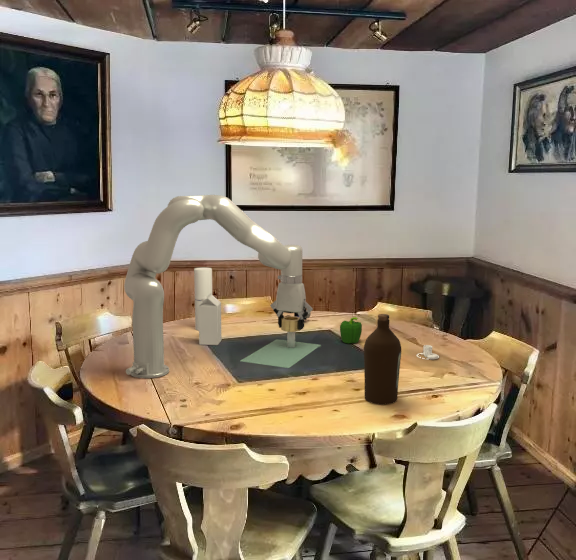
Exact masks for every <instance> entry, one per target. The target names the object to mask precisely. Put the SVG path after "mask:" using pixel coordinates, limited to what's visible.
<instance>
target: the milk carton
mask: <svg viewBox="0 0 576 560" xmlns="http://www.w3.org/2000/svg"><path fill="white" fill-rule="evenodd" d="M201 301H202V303H201V304H200V305H199V331H198V337H199V338H198V341H199V342H198V345H199V346H200V345H201V346H202V345H204V346H219V345H220V343H221V341H222V302H221V301H220V300H219V299H218V298H216V297H215V296H214V295H213V291H212V292H211V293H210V294H209V295H208V298H206V296H205V297H204V298H202V299H201Z"/></svg>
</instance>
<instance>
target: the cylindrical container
mask: <svg viewBox="0 0 576 560" xmlns="http://www.w3.org/2000/svg"><path fill="white" fill-rule="evenodd" d="M193 269H194V270H193V273H194V275H193V281H194V282H193V283H194V285H193V286H194V316H195V319H194V324H195V325H194V326H195V328H194V329H195V331H198V332H199V305H200V304H201V303H202V301H201V299H202V298H204V297H205V296H206V298H208V295H209V294H210V293H211V292H212V293H213V268H212V267H194V268H193Z"/></svg>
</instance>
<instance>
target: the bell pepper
mask: <svg viewBox="0 0 576 560" xmlns="http://www.w3.org/2000/svg"><path fill="white" fill-rule="evenodd" d="M354 320H355V321H354ZM357 320H358V317H354V316H352V317H350V320H349V321H348V320H342V322H341V323H340V325H339V332H340V338H341V341H342V343H345V344H357V343H359V341H360V340H361V339H360V338H361V336H362V331H363V324H362V322H360V321H357Z"/></svg>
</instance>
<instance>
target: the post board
mask: <svg viewBox="0 0 576 560" xmlns="http://www.w3.org/2000/svg"><path fill="white" fill-rule="evenodd" d="M286 332H287V331H286ZM286 334H287V336H286V337H287V338H286V339H287V340H286V339H274V340H273V341H271V342H269V343H267V344H266V345H264V346H262V347H261V348H259V349H258V350H256V351H254V352H253V353H251V354H249V355H246V357H244V358H243V359H241V360H240V362H241V363H243V362H244V363H249V364H256V365H258V364H259V365H265V366H272V367H277V368H285V369H289V368H291V367H292V366H294V365H296V363H298V362H299V361H301V360H302V359H304V358H305V357H306V356H308V355H309V354H311V353H313V351H315V350H316V349H318V348H322V345H321V344H317V343H309V342H303V341H301V342H300V341H296V332H287V333H286Z"/></svg>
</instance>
